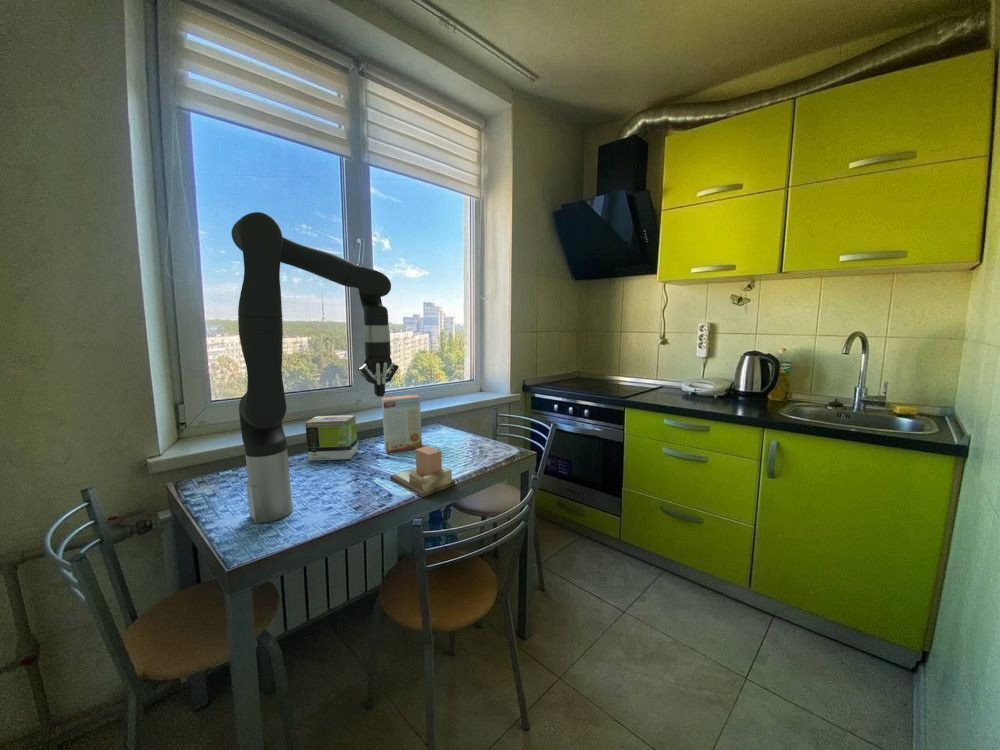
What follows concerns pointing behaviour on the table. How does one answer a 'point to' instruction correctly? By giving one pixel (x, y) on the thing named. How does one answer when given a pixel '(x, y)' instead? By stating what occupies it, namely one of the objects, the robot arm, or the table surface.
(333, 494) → the table surface
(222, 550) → the table surface
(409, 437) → the cracker box
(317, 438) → the tea box
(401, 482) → the board
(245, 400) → the robot arm
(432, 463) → the tall tan block
